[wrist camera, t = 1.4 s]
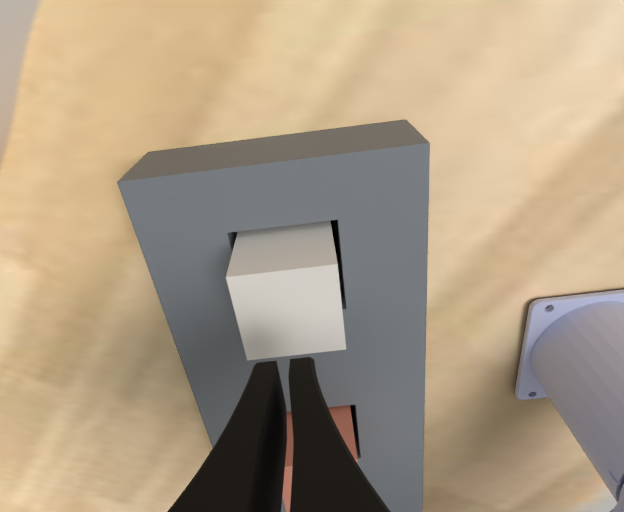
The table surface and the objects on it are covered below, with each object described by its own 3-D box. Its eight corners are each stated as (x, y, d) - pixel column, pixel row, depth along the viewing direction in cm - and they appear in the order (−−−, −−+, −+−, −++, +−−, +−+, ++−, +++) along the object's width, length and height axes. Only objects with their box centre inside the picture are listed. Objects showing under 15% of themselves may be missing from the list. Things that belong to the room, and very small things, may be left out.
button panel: (405, 119, 20) (429, 142, 16) (408, 513, 35) (421, 568, 32) (148, 152, 20) (117, 181, 16) (265, 528, 36) (262, 583, 32)
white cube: (329, 217, 19) (337, 264, 15) (337, 292, 21) (346, 349, 17) (238, 227, 19) (225, 277, 15) (255, 302, 21) (247, 360, 17)
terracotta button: (348, 394, 24) (357, 459, 21) (353, 440, 26) (362, 506, 23) (277, 402, 24) (274, 468, 21) (288, 447, 26) (287, 514, 23)
